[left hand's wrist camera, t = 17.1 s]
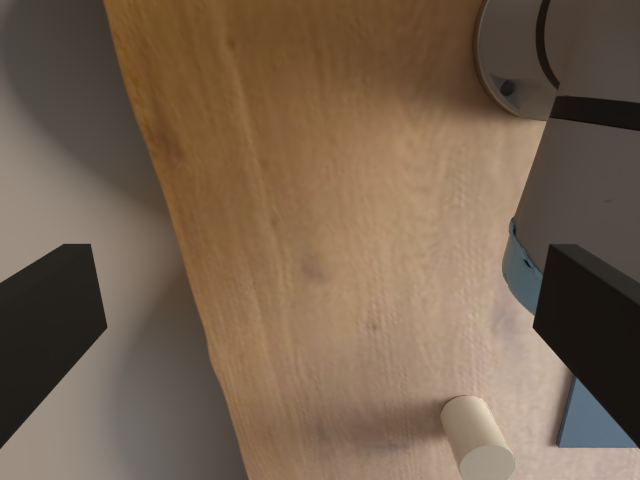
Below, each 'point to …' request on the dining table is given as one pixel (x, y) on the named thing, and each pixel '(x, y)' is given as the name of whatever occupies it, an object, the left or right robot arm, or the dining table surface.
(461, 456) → the white canister
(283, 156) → the dining table surface
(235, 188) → the dining table surface
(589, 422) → the felt mat
